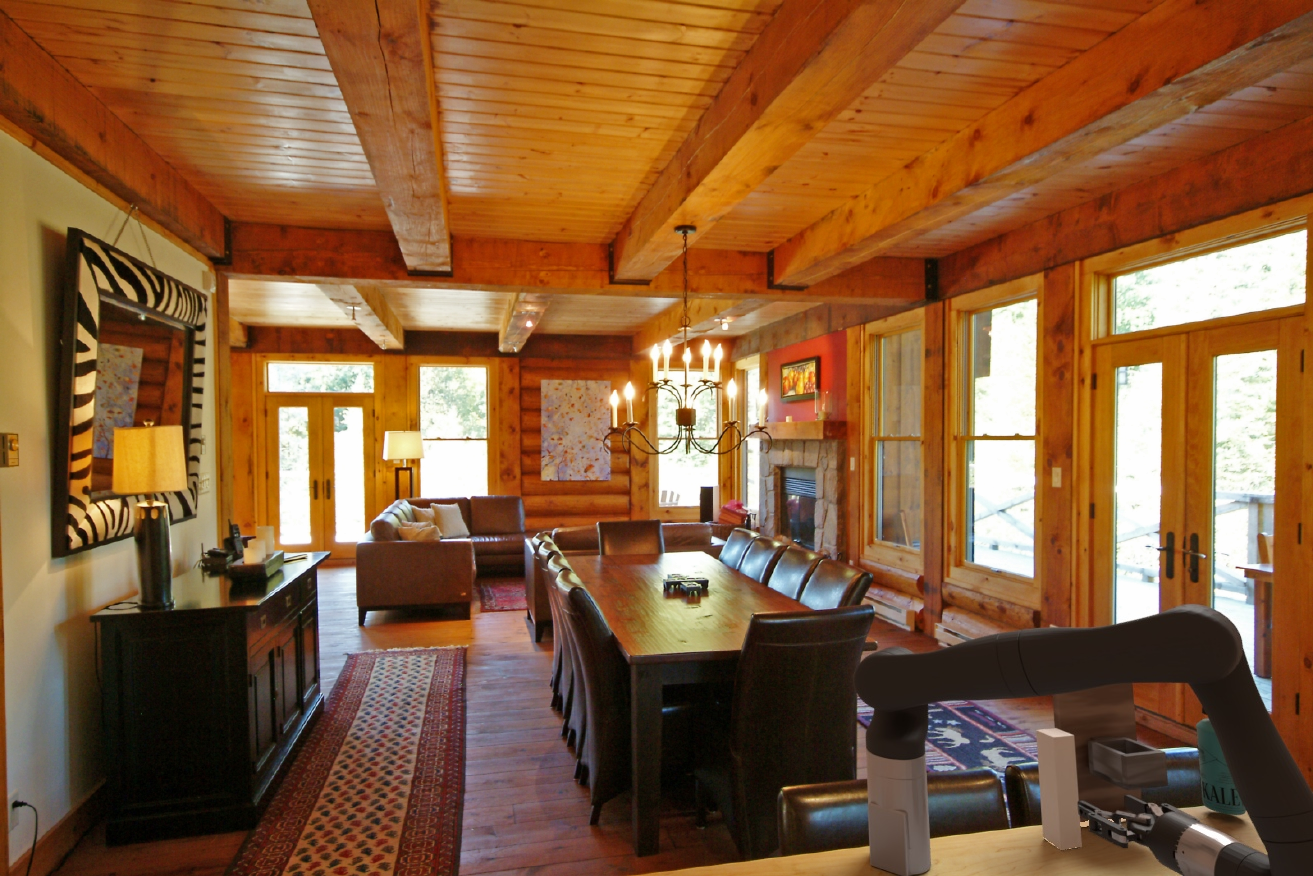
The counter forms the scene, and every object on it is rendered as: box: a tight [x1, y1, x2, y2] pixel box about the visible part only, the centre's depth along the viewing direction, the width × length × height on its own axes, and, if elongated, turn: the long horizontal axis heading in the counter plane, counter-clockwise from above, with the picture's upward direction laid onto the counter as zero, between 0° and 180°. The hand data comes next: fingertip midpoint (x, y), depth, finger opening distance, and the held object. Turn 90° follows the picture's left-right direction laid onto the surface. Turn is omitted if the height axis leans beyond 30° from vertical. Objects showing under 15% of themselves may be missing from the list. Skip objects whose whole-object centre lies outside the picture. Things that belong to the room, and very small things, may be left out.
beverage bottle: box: [1195, 705, 1247, 816], centre depth 128 cm, size 6×7×20 cm
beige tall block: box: [1035, 727, 1083, 851], centre depth 119 cm, size 4×4×18 cm
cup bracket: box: [1051, 683, 1169, 822], centre depth 125 cm, size 12×16×26 cm
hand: (1102, 804), depth 111 cm, fingers open, 8 cm apart
